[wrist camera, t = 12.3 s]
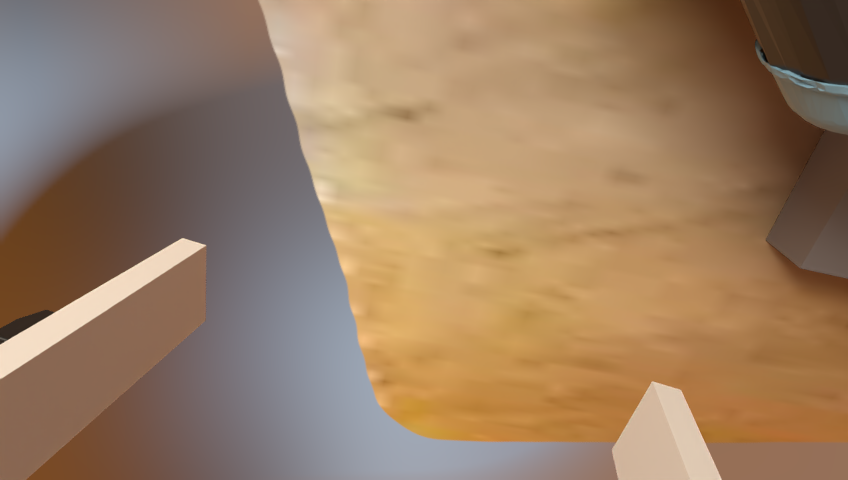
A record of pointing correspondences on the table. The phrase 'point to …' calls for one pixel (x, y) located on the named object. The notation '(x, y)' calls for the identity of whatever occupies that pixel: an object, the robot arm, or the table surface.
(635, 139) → the table surface
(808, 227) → the charcoal block
